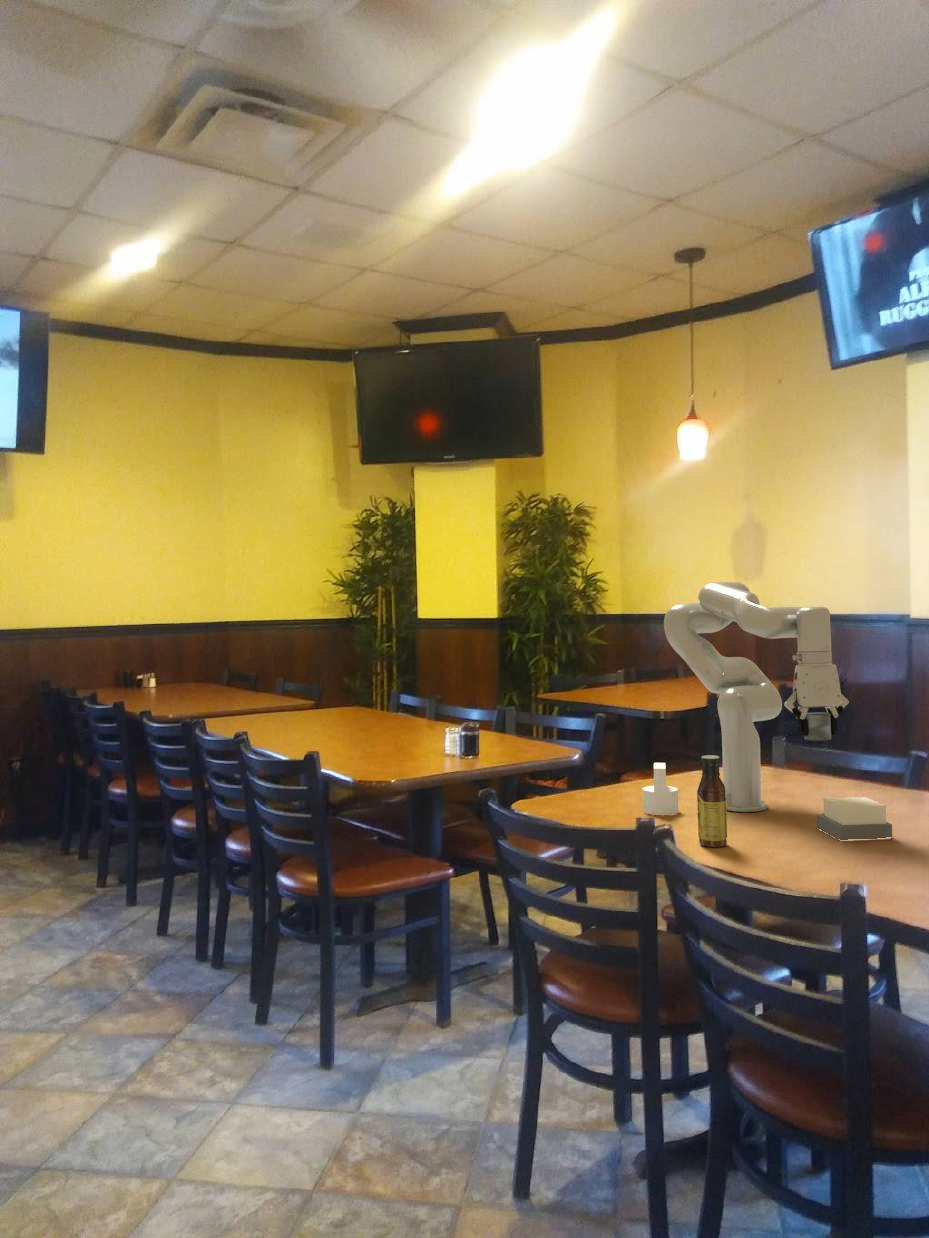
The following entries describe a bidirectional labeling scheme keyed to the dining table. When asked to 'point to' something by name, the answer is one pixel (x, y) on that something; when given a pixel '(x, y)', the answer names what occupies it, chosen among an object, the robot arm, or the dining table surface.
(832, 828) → the tower bottom
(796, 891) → the dining table surface
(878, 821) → the tower top
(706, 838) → the sauce bottle
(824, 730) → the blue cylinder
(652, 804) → the cylinder with rectangular tab
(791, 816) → the dining table surface
